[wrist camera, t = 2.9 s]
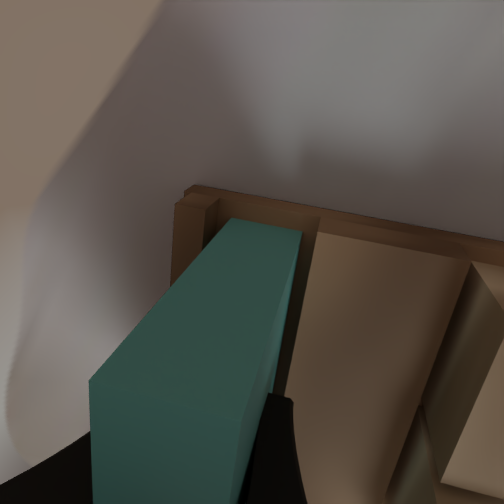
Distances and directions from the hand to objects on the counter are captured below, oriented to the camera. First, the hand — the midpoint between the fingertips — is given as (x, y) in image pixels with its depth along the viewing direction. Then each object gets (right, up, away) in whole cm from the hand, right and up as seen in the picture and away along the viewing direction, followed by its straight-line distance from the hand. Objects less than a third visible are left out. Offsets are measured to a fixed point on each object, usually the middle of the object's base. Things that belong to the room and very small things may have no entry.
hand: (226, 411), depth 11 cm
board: (+1, +1, +2) cm, 2 cm away
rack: (+3, +1, +2) cm, 4 cm away
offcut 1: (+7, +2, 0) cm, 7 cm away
